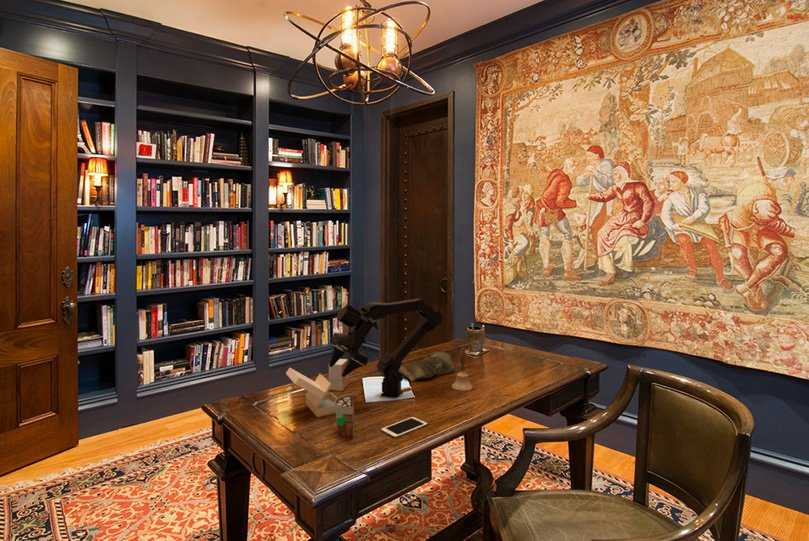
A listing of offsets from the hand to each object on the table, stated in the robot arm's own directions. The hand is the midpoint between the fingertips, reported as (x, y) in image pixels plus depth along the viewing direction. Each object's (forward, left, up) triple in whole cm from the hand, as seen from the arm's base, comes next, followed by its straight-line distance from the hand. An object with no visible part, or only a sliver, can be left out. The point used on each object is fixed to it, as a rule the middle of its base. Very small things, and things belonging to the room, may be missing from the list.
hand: (336, 371), depth 165 cm
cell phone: (-30, +9, -13) cm, 34 cm away
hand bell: (-38, -33, -13) cm, 52 cm away
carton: (+2, +4, -12) cm, 13 cm away
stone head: (-18, -46, -13) cm, 51 cm away
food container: (-13, +18, -13) cm, 25 cm away
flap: (+4, +6, -5) cm, 9 cm away
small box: (+8, -16, -13) cm, 22 cm away
